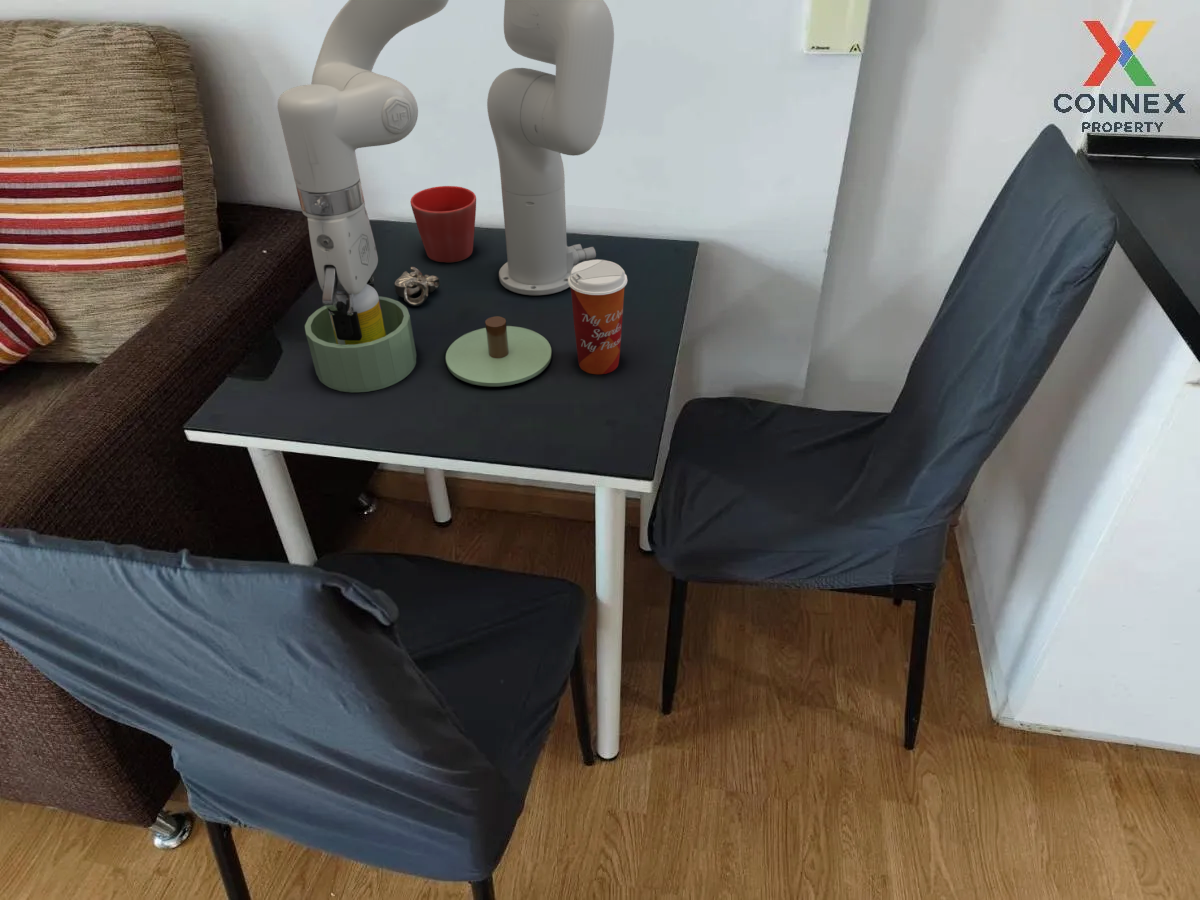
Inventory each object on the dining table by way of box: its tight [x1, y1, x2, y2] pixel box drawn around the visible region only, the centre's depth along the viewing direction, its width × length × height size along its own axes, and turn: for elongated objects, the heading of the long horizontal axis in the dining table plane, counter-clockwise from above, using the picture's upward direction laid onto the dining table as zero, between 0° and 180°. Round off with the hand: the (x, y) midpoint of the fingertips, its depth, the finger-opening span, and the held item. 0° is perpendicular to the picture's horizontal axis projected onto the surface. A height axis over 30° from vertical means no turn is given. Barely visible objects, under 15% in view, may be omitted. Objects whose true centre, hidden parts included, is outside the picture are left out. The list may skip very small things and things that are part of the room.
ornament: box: [394, 266, 441, 307], centre depth 133 cm, size 8×7×4 cm
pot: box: [304, 295, 417, 393], centre depth 117 cm, size 14×14×7 cm
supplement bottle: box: [329, 283, 386, 345], centre depth 115 cm, size 7×7×13 cm
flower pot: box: [410, 185, 477, 264], centre depth 143 cm, size 11×11×10 cm
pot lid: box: [445, 315, 552, 387], centre depth 118 cm, size 15×15×6 cm
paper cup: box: [568, 259, 628, 375], centre depth 115 cm, size 8×8×14 cm
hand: (358, 323), depth 115 cm, fingers closed on supplement bottle, 6 cm apart
